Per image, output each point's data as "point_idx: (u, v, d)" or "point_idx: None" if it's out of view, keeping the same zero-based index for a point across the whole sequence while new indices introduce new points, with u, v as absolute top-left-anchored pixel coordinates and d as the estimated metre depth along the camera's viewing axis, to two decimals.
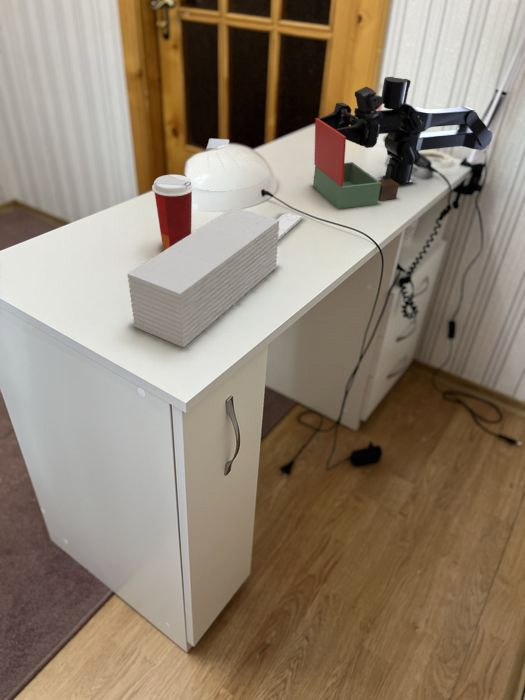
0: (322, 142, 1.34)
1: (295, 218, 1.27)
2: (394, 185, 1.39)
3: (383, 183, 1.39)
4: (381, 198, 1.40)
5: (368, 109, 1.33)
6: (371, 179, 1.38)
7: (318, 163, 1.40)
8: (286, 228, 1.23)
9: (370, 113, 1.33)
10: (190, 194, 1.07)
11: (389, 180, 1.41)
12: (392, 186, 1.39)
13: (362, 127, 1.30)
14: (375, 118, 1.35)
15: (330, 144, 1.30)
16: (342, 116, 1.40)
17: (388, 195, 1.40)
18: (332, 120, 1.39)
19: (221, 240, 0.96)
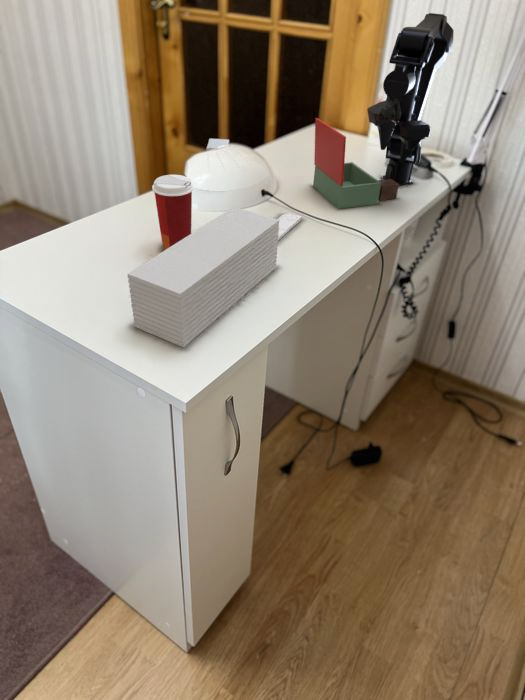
0: (322, 142, 1.34)
1: (295, 218, 1.27)
2: (394, 185, 1.39)
3: (383, 183, 1.39)
4: (381, 198, 1.40)
5: None
6: (371, 179, 1.38)
7: (318, 163, 1.40)
8: (286, 228, 1.23)
9: (395, 115, 1.26)
10: (190, 194, 1.07)
11: (389, 180, 1.41)
12: (392, 186, 1.39)
13: None
14: (401, 104, 1.25)
15: (330, 144, 1.30)
16: None
17: (388, 195, 1.40)
18: (385, 132, 1.36)
19: (221, 240, 0.96)
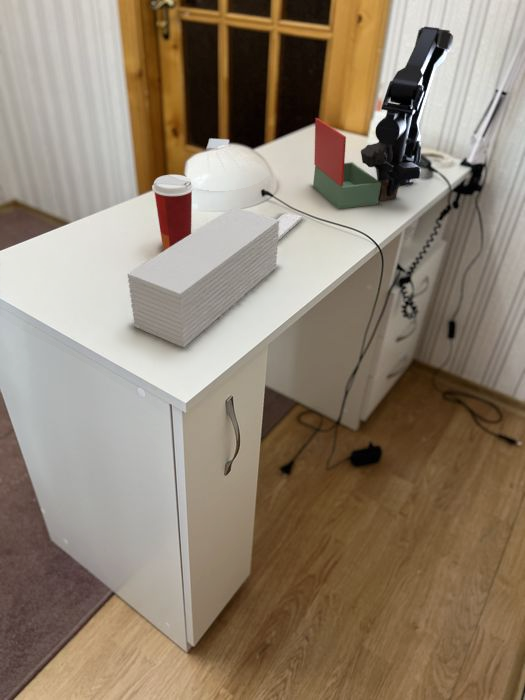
0: (322, 142, 1.34)
1: (295, 218, 1.27)
2: None
3: (383, 183, 1.39)
4: (381, 198, 1.40)
5: None
6: (371, 179, 1.38)
7: (318, 163, 1.40)
8: (286, 228, 1.23)
9: (387, 157, 1.32)
10: (190, 194, 1.07)
11: None
12: None
13: None
14: (393, 147, 1.32)
15: (330, 144, 1.30)
16: None
17: None
18: (383, 173, 1.41)
19: (221, 240, 0.96)
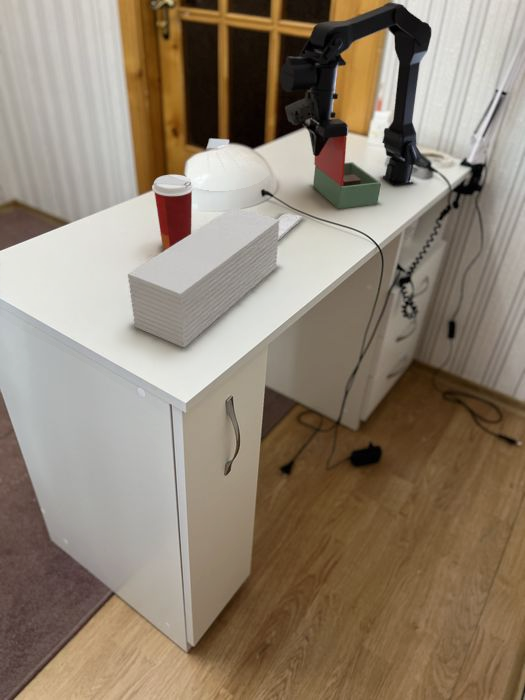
0: None
1: (295, 218, 1.27)
2: (356, 180, 1.38)
3: (345, 179, 1.38)
4: None
5: None
6: (371, 179, 1.38)
7: (318, 163, 1.40)
8: (286, 228, 1.23)
9: (313, 113, 1.22)
10: (190, 194, 1.07)
11: (352, 176, 1.40)
12: (354, 182, 1.38)
13: None
14: (318, 103, 1.22)
15: (331, 144, 1.30)
16: (315, 122, 1.28)
17: None
18: None
19: (222, 240, 0.96)
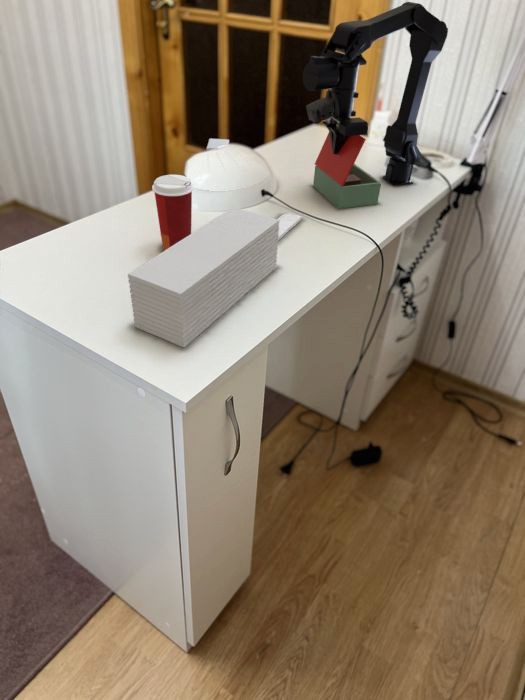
0: None
1: (295, 218, 1.27)
2: (356, 180, 1.38)
3: None
4: None
5: None
6: (371, 179, 1.38)
7: (320, 162, 1.40)
8: (286, 228, 1.23)
9: (334, 112, 1.24)
10: (190, 194, 1.07)
11: (352, 176, 1.40)
12: (354, 182, 1.38)
13: None
14: (339, 101, 1.24)
15: (344, 145, 1.32)
16: (335, 121, 1.30)
17: None
18: None
19: (222, 240, 0.96)
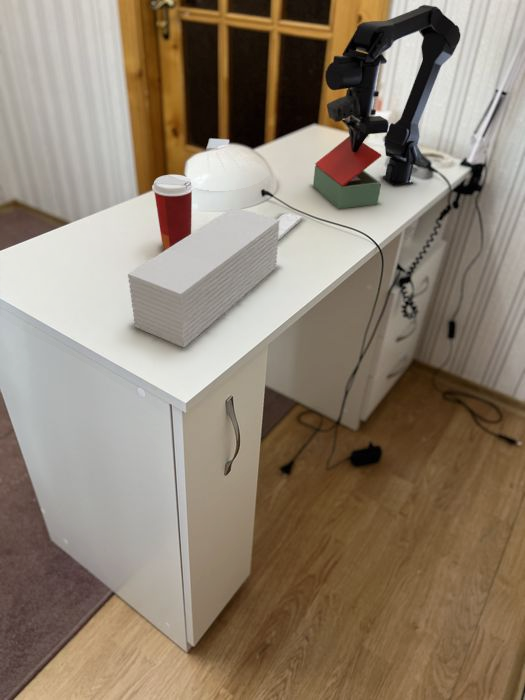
0: (344, 151, 1.38)
1: (295, 218, 1.27)
2: (356, 180, 1.38)
3: None
4: None
5: None
6: (371, 179, 1.38)
7: (322, 163, 1.40)
8: (286, 228, 1.23)
9: (354, 110, 1.26)
10: (190, 194, 1.07)
11: None
12: (354, 182, 1.38)
13: None
14: (360, 100, 1.25)
15: (355, 155, 1.35)
16: (354, 119, 1.31)
17: None
18: None
19: (222, 240, 0.96)
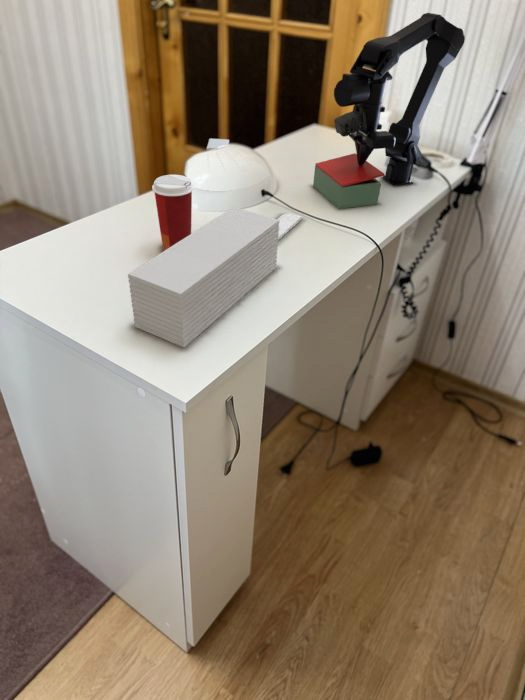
0: (347, 162, 1.40)
1: (295, 218, 1.27)
2: None
3: None
4: None
5: None
6: (371, 179, 1.38)
7: (323, 165, 1.41)
8: (286, 228, 1.23)
9: (361, 125, 1.29)
10: (190, 194, 1.07)
11: None
12: None
13: None
14: (367, 115, 1.28)
15: (358, 168, 1.37)
16: (361, 134, 1.34)
17: None
18: None
19: (222, 240, 0.96)
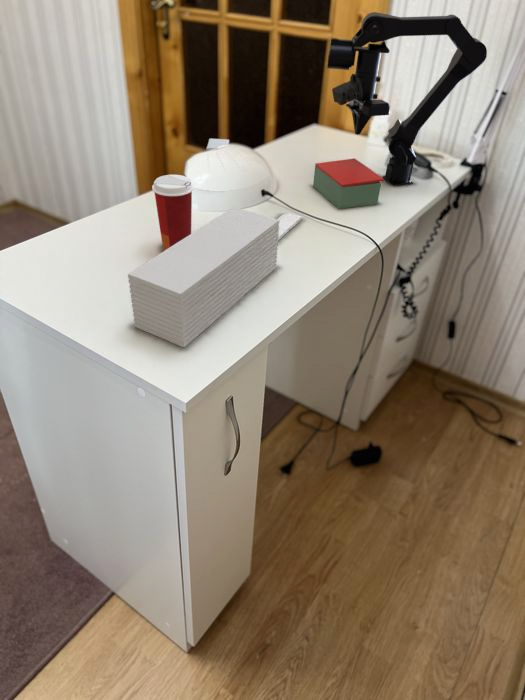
0: (347, 165, 1.41)
1: (295, 218, 1.27)
2: None
3: None
4: None
5: None
6: None
7: (323, 165, 1.41)
8: (286, 228, 1.23)
9: (358, 94, 1.35)
10: (190, 194, 1.07)
11: None
12: None
13: None
14: (363, 85, 1.35)
15: (358, 171, 1.38)
16: (358, 103, 1.41)
17: None
18: None
19: (222, 240, 0.96)
